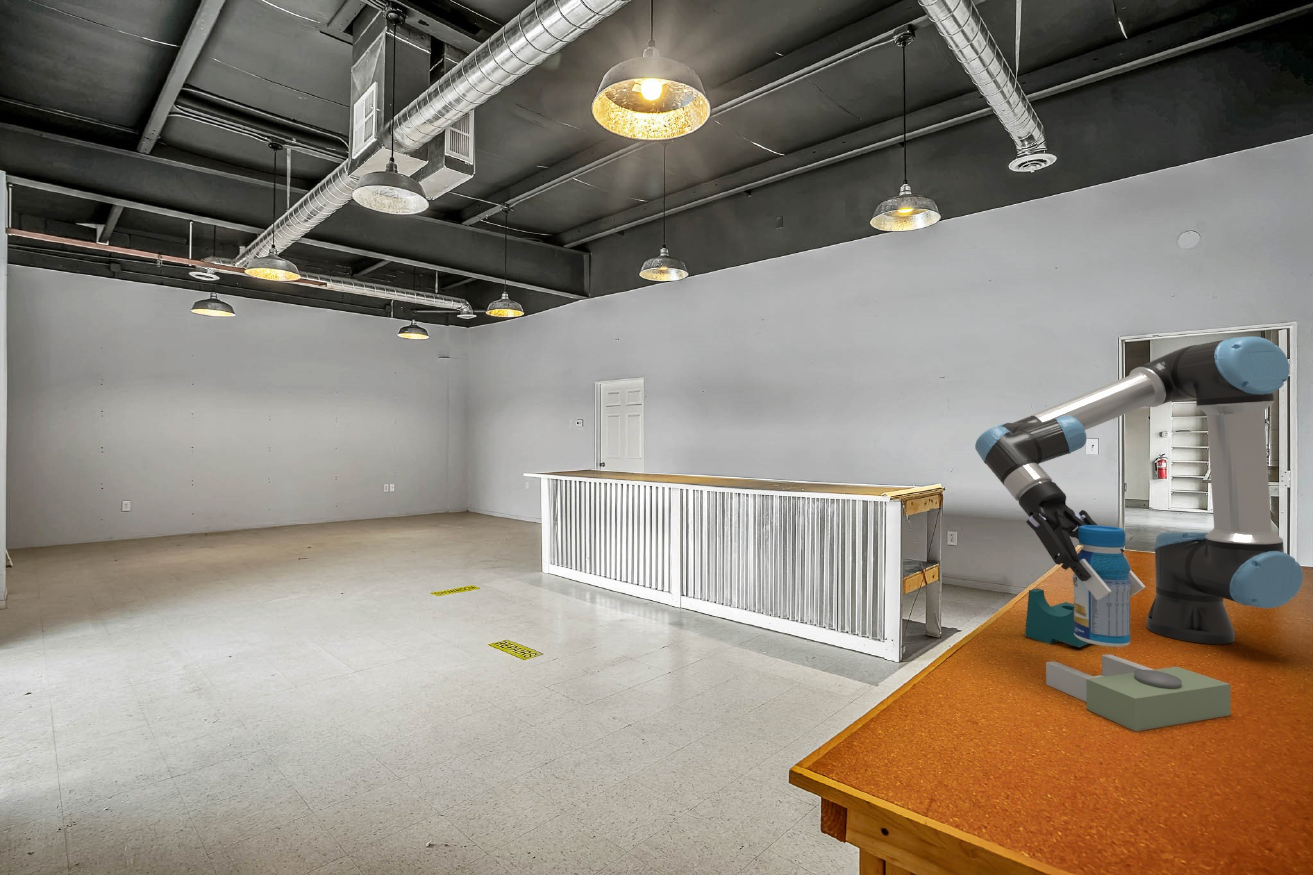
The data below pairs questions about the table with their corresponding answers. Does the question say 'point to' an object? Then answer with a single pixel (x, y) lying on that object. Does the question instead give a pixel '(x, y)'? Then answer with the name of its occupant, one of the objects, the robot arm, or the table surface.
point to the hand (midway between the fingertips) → (1121, 593)
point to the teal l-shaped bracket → (1050, 620)
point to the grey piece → (1143, 693)
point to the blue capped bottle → (1112, 613)
